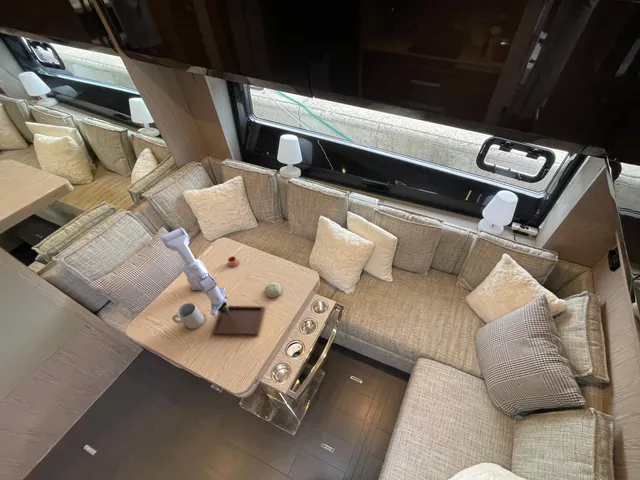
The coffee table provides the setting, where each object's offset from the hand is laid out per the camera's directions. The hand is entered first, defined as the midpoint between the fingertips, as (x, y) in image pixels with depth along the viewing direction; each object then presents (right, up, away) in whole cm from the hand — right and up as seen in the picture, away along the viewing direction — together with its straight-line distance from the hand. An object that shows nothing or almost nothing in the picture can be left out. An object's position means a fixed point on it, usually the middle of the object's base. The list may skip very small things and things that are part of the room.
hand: (224, 310), depth 139 cm
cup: (-7, +24, +28) cm, 37 cm away
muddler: (0, -3, +3) cm, 4 cm away
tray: (+7, -6, +3) cm, 10 cm away
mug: (-17, -7, +2) cm, 18 cm away
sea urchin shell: (+21, +8, +16) cm, 27 cm away
